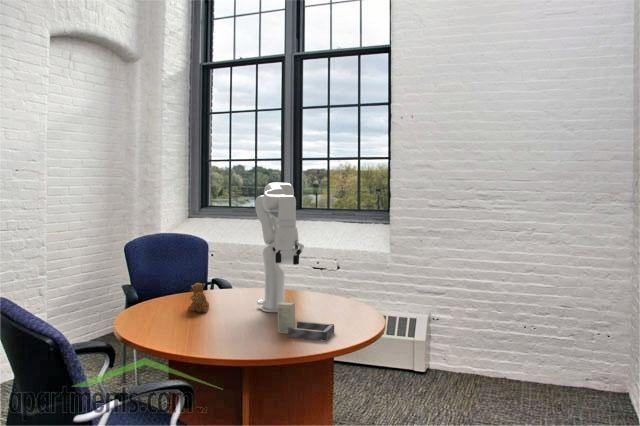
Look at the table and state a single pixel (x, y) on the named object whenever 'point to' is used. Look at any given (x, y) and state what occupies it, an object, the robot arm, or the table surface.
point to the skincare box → (286, 316)
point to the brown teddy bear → (198, 299)
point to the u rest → (311, 330)
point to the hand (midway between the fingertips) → (287, 263)
